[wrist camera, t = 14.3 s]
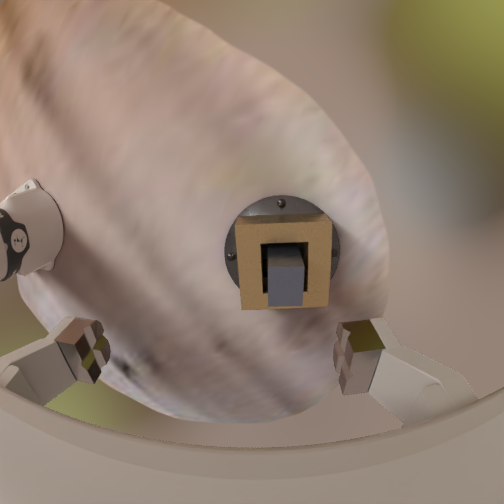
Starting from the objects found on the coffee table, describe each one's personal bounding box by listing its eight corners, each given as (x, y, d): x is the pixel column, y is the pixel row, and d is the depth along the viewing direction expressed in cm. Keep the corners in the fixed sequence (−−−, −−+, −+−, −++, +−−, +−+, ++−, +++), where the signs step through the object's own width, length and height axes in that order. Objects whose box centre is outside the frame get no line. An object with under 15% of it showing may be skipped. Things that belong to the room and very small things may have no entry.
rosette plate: (230, 303, 44) (225, 324, 39) (220, 198, 39) (212, 206, 33) (334, 299, 43) (343, 319, 38) (339, 194, 38) (351, 201, 32)
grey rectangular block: (267, 271, 41) (268, 306, 32) (267, 239, 39) (267, 266, 30) (294, 271, 41) (302, 306, 31) (295, 239, 39) (304, 266, 30)
